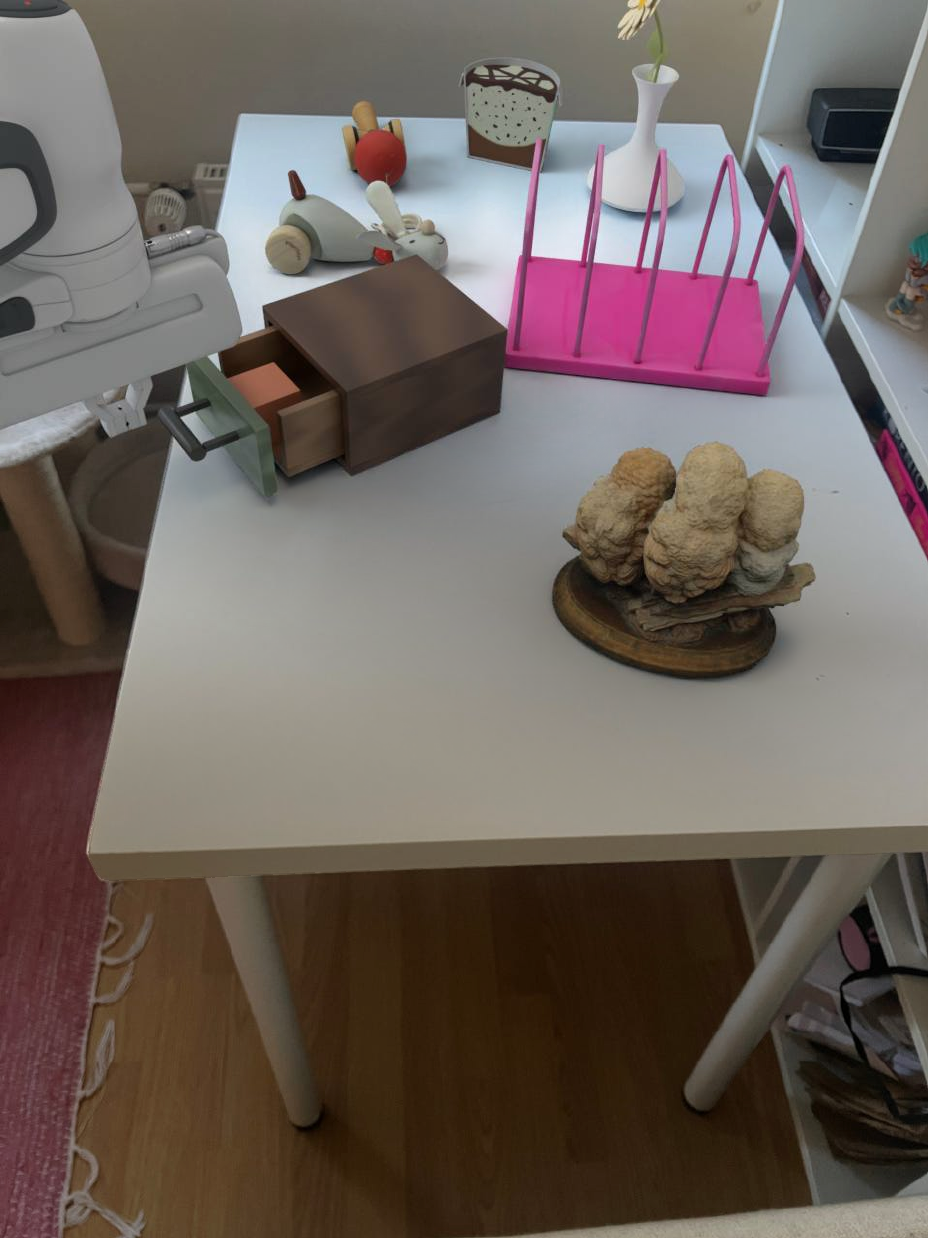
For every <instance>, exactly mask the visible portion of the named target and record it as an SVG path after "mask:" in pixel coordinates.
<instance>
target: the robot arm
mask: <svg viewBox="0 0 928 1238" xmlns="http://www.w3.org/2000/svg"><path fill="white" fill-rule="evenodd" d="M122 145H123V144H122V139H121V135H120V130H119V126H118V122H117V117H116V113H115V110H114V105H113V101H112V98H111V95H110V91H109V87H108V83H107V80H106V77H105V74H104V70H103V68H102V65H101V61H100V59H99V56H98V53H97V50H96V48H95V45H94V42H93V40H92V38H91V35H90V33H89V31H88V29H87V27H86V25H85V23H84V21H83V19H82V17H81V16H80V14H79V13H78V12H77V11H76V9H75V8H74V7H72V6H70V5H69V3H68V2H66V1H65V0H0V431H1V430H3V429H6V428H9V427H12V426H16V425H18V424H20V423H21V424H22V423H23V422H26V421H29V420H32V419H34V418H37V417H40V416H43V415H45V414H49V413H51V412H54V411H58V410H59V409H63V408H66V407H68V406H71V405H74V404H77V403H80V402H81V403H82V404H83V406H84V408H85V409H86V410H87V411H89V412H90V413H92V414H93V415H94V416H95V417H97V418H98V419H99V420H100V424H101V425H102V428H103V430H104V431H105V433H106V434H107V435H108V437H109V438H110V439H112V438H114V437H117V436H120V435H123V434H125V433H128V432H129V431H132V430H135V429H138V428H141V427H144V426H146V425H148V422H147V421H148V420H147V418H146V414H145V410H144V408H145V407H146V406H147V405H146V404H147V402H148V400H149V397H150V394H151V392H152V390H153V386H154V384H153V381H152V376H156V375H158V374H161V373H164V372H166V371H169V370H172V369H175V368H178V367H181V366H183V365H184V366H185V365H186V364H187V363H189V362H192V361H195V360H198V359H201V358H203V357H206V356H208V357H209V356H212V355H215V354H218V352H220V351H223V350H226V349H229V348H231V347H234V346H235V345H236V344H237V342H238V340H239V338H240V337H241V336H242V334H243V324H242V323H243V322H242V320H241V315H240V311H239V308H238V304H237V301H236V297H235V294H234V291H233V288H232V286H231V284H230V281H229V279H228V277H227V276H228V274H229V271H230V262H231V261H230V256H229V251H228V245H227V242H226V239H225V238H224V237H223V235H222V234H221V233H220V232H218V231H216V230H215V229H211V228H204V227H203V226H202V225H201V224H200V225H192V226H191V225H190V226H188V227H185V228H183V229H182V230H180V231H177V232H173V233H167V234H161V235H157V236H154V237H150V238H148V239H144V236H143V230H142V227H141V222H140V219H139V214H138V209H137V206H136V202H135V200H134V197H133V196H132V193H131V192H130V190H129V189H128V187H127V184H126V182H125V179H124V175H123V173H122V155H123V146H122ZM125 386H127V390H126V393H125V397H124V398H123V399H121V400H118V401H115V402H113V403H112V402H111V403H109V404H106V405H105V404H104V403H105V397H104V394H105V393H108V392H111V391H114V390H116V389H119V388H121V387H125Z"/></svg>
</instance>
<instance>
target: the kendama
mask: <svg viewBox="0 0 928 1238" xmlns="http://www.w3.org/2000/svg"><path fill="white" fill-rule="evenodd" d="M351 116H352V117H351V118H352V120H353V122H354V123H355V125H356V126H357V127H355V126H354V125H353V124H347V125H343V126H342V127H341V130H342V137H343V142H344V146H345V151H346V156H347V161H348V165H349V170H350V171H356V172H357V173H358V175H359V177H360V178H361V179H362V180H363V181H364V182H366V183H367V184H368V185H370V184H371V183H372V182H375V181H383V182H385V183H386V184H387V185H388V186H389V187H391V186H392V185H395V184H396V183H397V182H399V181H400V180H401V178H402V177H403V175H404V173H405V171H406V168H407V161H408V159H407V158H408V157H407V150H406V142H405V141H406V140H405V137H404V131H403V126H402V123H401V120H400V118H392V119H390V121H389V122H388V123H387V124H386V125H385V126H384V127H383V128H381V129H380V127H379V121H378V117H377V111H376V108H375V106H373V104H372V103H371V102H369V101H366V100H363V101H359V102H357V103H356V104H355V105H354V106H353V108H352V112H351Z"/></svg>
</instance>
